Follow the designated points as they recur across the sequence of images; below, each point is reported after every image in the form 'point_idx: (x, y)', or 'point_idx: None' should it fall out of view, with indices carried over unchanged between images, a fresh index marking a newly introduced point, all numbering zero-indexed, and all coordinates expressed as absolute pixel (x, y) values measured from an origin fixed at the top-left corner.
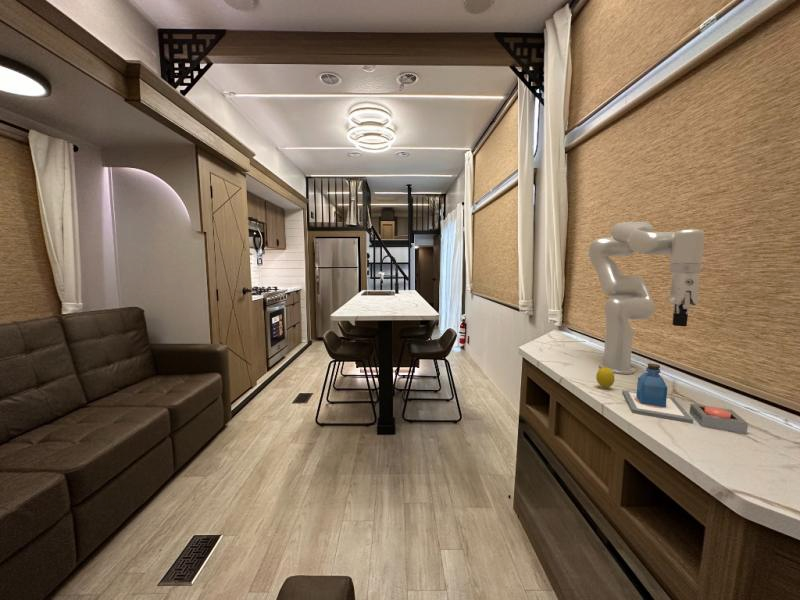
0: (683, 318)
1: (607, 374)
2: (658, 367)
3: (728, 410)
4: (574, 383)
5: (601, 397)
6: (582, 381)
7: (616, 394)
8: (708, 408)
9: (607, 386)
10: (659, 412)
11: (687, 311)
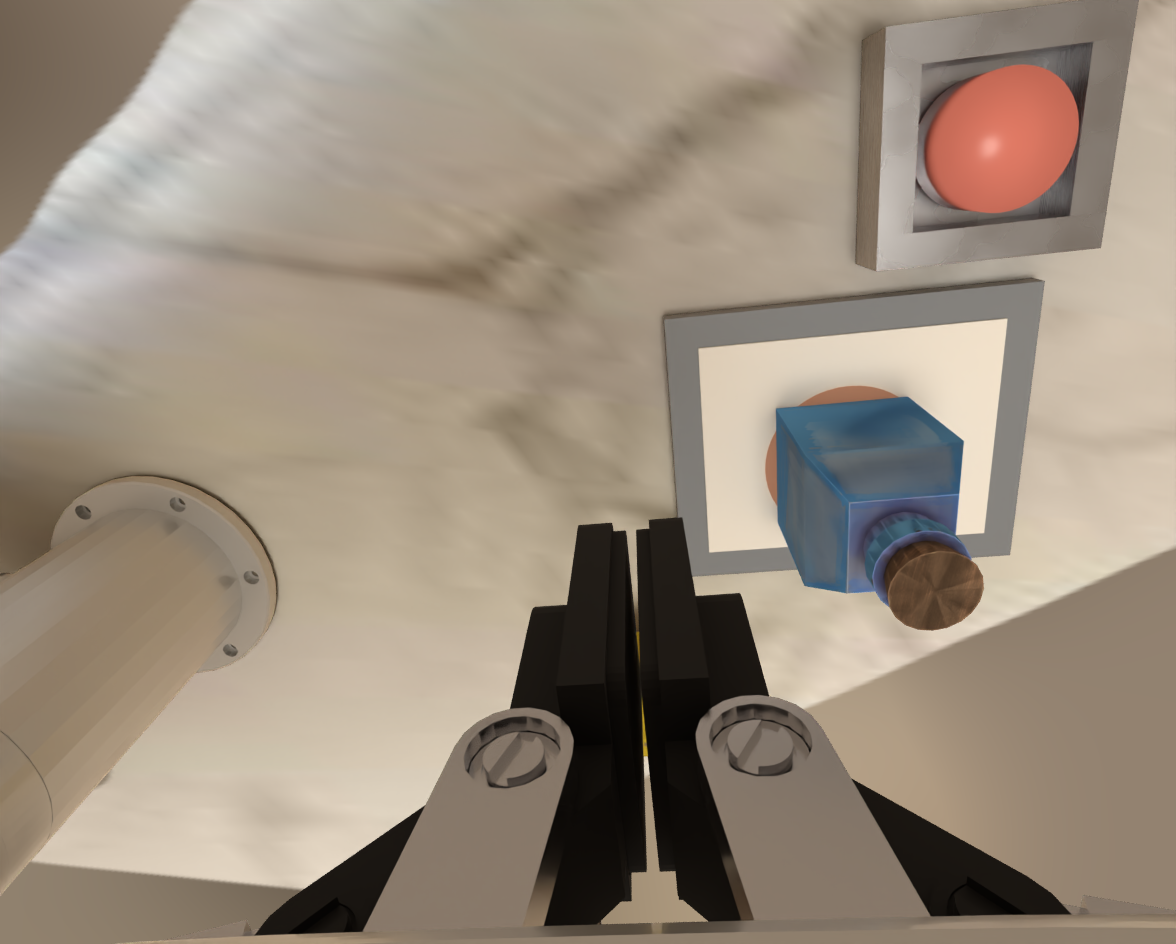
0: (758, 679)
1: None
2: (970, 560)
3: (917, 54)
4: None
5: (823, 661)
6: None
7: None
8: (993, 193)
9: None
10: (996, 435)
11: (845, 786)
